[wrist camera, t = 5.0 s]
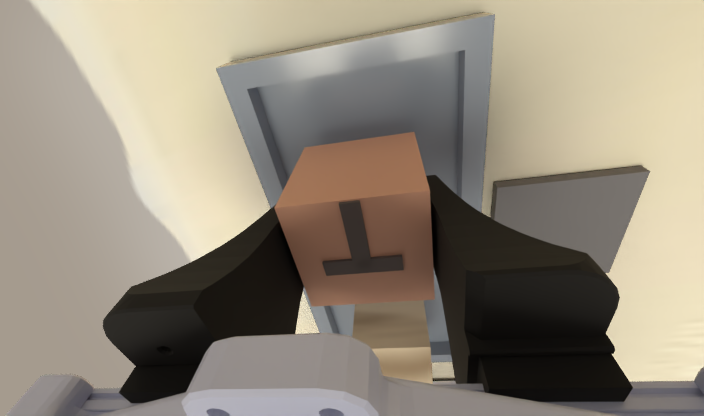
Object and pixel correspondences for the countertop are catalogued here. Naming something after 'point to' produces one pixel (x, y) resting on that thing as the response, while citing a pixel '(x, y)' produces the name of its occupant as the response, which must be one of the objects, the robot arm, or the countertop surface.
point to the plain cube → (396, 337)
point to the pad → (573, 209)
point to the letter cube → (360, 222)
